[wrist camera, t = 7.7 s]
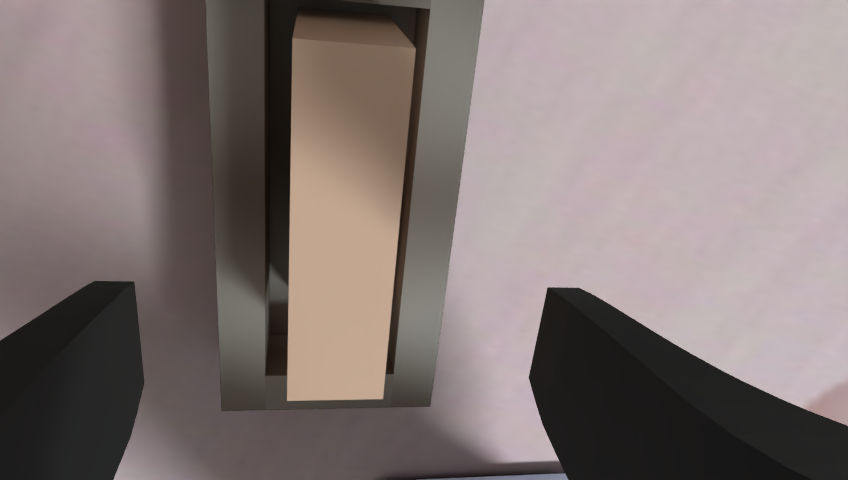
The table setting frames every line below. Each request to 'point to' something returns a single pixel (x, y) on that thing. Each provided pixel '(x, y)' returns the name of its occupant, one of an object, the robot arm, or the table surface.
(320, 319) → the tan rectangular block
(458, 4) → the shallow rectangular tray
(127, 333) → the robot arm
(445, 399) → the table surface
